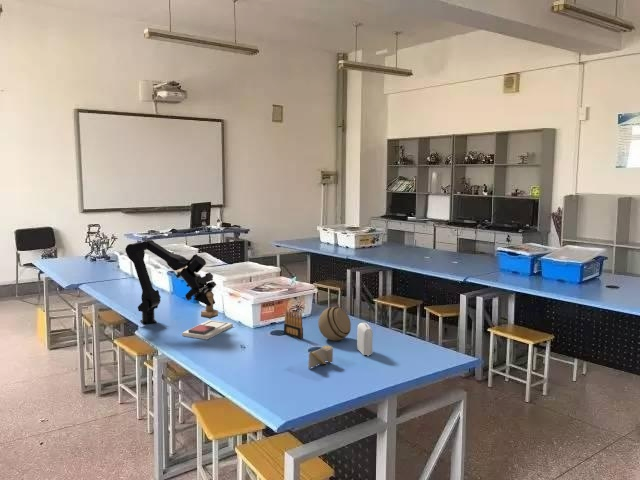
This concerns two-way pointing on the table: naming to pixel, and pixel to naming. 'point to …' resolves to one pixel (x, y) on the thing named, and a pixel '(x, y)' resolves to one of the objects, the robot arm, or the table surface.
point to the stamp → (209, 308)
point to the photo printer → (364, 338)
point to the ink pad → (201, 329)
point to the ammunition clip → (293, 324)
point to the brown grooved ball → (334, 323)
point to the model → (321, 356)
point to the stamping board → (218, 329)
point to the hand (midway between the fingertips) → (212, 304)
